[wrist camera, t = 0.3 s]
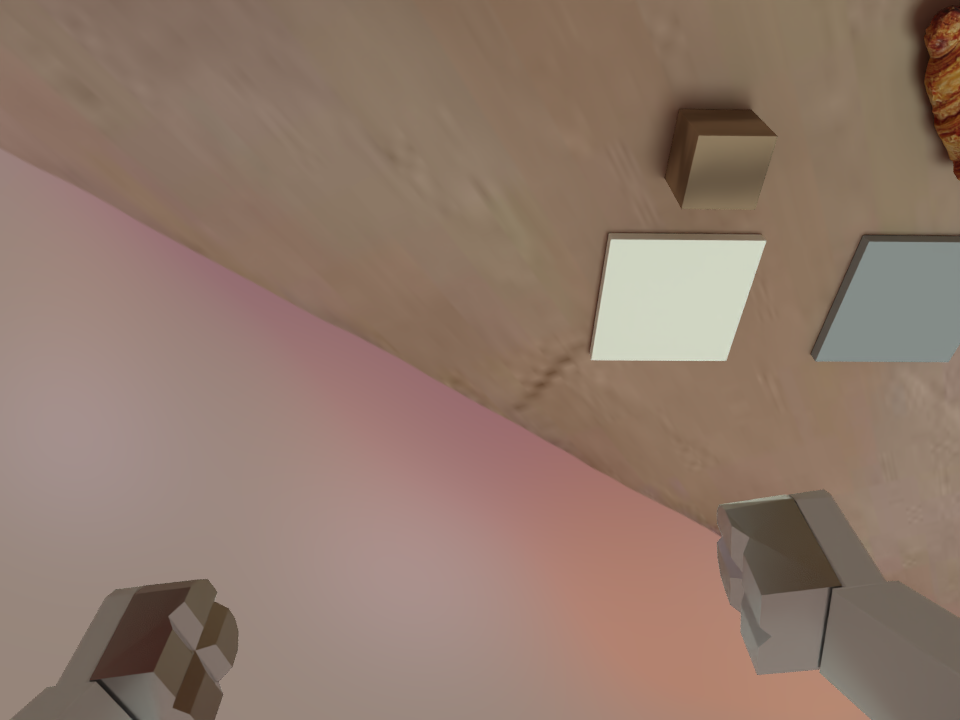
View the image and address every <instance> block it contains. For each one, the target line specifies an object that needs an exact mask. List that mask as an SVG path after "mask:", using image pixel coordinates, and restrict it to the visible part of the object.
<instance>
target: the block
mask: <svg viewBox="0 0 960 720" xmlns="http://www.w3.org/2000/svg"><path fill="white" fill-rule="evenodd" d="M777 137H778V136H777V135H776V134H775V133H774V132H773V131H772V130H771V129H770V128H769V127H768V126H767V125H766V124H765V123H764V122H763V121H762V120H761V119H760V118H759V117H758V116H757V115H756V114H755V113H754V112H753V111H752V110H717V109H679V112H678V117H677V122H676V127H675V132H674V137H673V141H672V146H671V151H670V156H669V161H668V165H667V170H666V175H665V180H666V181H667V183H668V185H669V187H670V189H671V190H672V192H673V194H674V196H675V198H676V200H677V201H678V203H679V205H680V207H681V209H746V210H755V208H756V205H757V202H758V198H759V195H760V192H761V189H762V185H763V182H764V179H765V176H766V173H767V169H768V166H769V163H770V160H771V157H772V153H773V150H774V147H775V144H776V141H777Z"/></svg>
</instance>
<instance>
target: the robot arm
mask: <svg viewBox="0 0 960 720" xmlns="http://www.w3.org/2000/svg"><path fill="white" fill-rule="evenodd" d="M717 524H718V526H719V529H720V531H721V534H722V537H721V539H720V540H719V541H718V542H717V553H718V563H719V569H720V574H721V578H722V581H723V585H724V588H725V591H726V594H727V597H728V599H729V602H730V605H731V606H733V607H734V608H735V609H737V610H738V611H739V612H741V634H742V637H743V639H744V642H745V644H746V647H747V650H748V652H749V655H750V658H751V660H752V663H753V665H754V668H755V671H756V673H757V675H761V674H773V673H785V672H796V671H808V670H819V669H820V673H821V674H822V675H823V676H824V677H825V678H826V679H827V680H828V681H829V682H830V683H832V684H833V685H834V686H835V687H836V688H837V689H838V690H839V691H840V692H841V693H842V694H844V695H845V696H846V697H847V698H848V699H849V700H850V701H851V702H852V703H854V704H855V705H856V706H857V707H858V708H859V709H860V710H861V711H862V712H863V713H865V714H866V715H867V716H868V717H869V718H870V719H871V720H960V618H959V617H957V616H955V615H954V614H952V613H951V612H949V611H947V610H946V609H944V608H942V607H941V606H939V605H937V604H936V603H934V602H932V601H931V600H929V599H928V598H926V597H924V596H923V595H921V594H919V593H918V592H916V591H914V590H913V589H911V588H909V587H908V586H906V585H905V584H903V583H901V582H900V581H888V582H887V581H886V580H885V578H884V577H883V575H882V574H881V572H880V570H879V569H878V567H877V566H876V564H875V563H874V561H873V560H872V558H871V556H870V555H869V553H868V552H867V550H866V549H865V547H864V545H863V544H862V542H861V541H860V539H859V538H858V536H857V534H856V533H855V531H854V530H853V528H852V527H851V525H850V523H849V522H848V520H847V519H846V517H845V516H844V514H843V513H842V511H841V509H840V508H839V506H838V505H837V503H836V502H835V500H834V498H833V497H832V495H831V494H830V493H828V492H827V491H826V490H817V491H810V492H803V493H796V494H790V495H788V496H787V495H780V496H773V497H767V498H760V499H754V500H747V501H741V502H734V503H728V504H721V505H719V507H718V510H717ZM216 594H217V591H216V589H215V588H214V587H213V585H212V584H211V583H210V581H209V580H208V579H203V580H202V579H200V580H191V581H182V582H173V583H165V584H155V585H146V586H140V587H132V588H124V589H116V590H114V591H113V592H112V593H111V594H110V595H108V596H107V597H106V598H105V599H104V601H103V603H102V605H101V606H100V608H99V610H98V612H97V614H96V615H95V617H94V619H93V621H92V622H91V624H90V626H89V628H88V629H87V631H86V633H85V635H84V637H83V638H82V640H81V642H80V644H79V645H78V647H77V649H76V651H75V653H74V654H73V656H72V658H71V660H70V661H69V663H68V665H67V667H66V668H65V670H64V672H63V674H62V676H61V677H60V679H59V681H58V683H57V684H56V686H54V687H47V688H46V689H44V690H43V691H42V692H41V693H40V694H39V695H37V697H35V698H34V699H33V700H32V701H31V702H29V703H28V704H27V705H26V706H25V707H24V708H23V709H22V710H20V711H19V712H18V713H17V714H16V715H15V716H14V717H13V718H12V719H10V720H215V717H216V714H217V711H218V708H219V705H220V702H221V699H222V696H223V692H222V690H221V687H220V684H219V681H220V680H221V679H222V678H223V677H224V675H226V673H227V672H228V671H229V670H230V669H231V668H232V667H233V663H234V660H235V657H236V654H237V650H238V628H237V624H236V620H235V618H234V616H233V614H232V613H231V611H230V610H229V609H228V608H227V607H225V606H223V605H221V604H219V603H217V602H214V600H215V597H216Z"/></svg>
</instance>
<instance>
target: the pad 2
mask: <svg viewBox="0 0 960 720" xmlns="http://www.w3.org/2000/svg"><path fill="white" fill-rule="evenodd" d="M959 344H960V236H888V235H863V237H862V239H861V241H860V244H859V246H858V248H857V250H856V253H855V255H854V257H853V259H852V262H851V264H850V266H849V269H848V271H847V273H846V275H845V278H844V280H843V282H842V284H841V287H840V289H839V291H838V294H837V296H836V298H835V300H834V303H833V305H832V307H831V309H830V312H829V314H828V316H827V319H826V321H825V323H824V325H823V328H822V330H821V332H820V334H819V337H818V339H817V341H816V344H815V346H814V348H813V350H812V353H811V355H812V357H813V358H814V360H815V361H852V362H949V360H950V359H951V357H952V355H953V354H954V352H955V351H956V349H957V347H958V346H959Z"/></svg>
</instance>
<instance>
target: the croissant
mask: <svg viewBox="0 0 960 720" xmlns="http://www.w3.org/2000/svg"><path fill="white" fill-rule="evenodd" d="M924 41H925V44H926V47H927V48H928V49H927V50H928V52H929V55H930V59H929V62H928V65H927V70H926V73H925V79H924V84H925V87H926V92H927V94H928V96H929V99H930V103H931V105H932V108H933V109H932V112H933V114H934V126H935V129H936V131H937V133H938V135H939V137H940V138H941V139H942V142H943V145H944V146H945V147H946V149H947V152H948V155H949V158H950V160H952V161H953V164H954V171H953V172H954V174H955V175H956V177H957V179H958V180H959V181H960V6H950V7H947V8H945V9H943V10H941V11H939V12H938V13H937V14H936V15H934V18H933V20H932V21H931V25H930V26H929V27H928V28H927V29H926V35H925V36H924Z"/></svg>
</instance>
